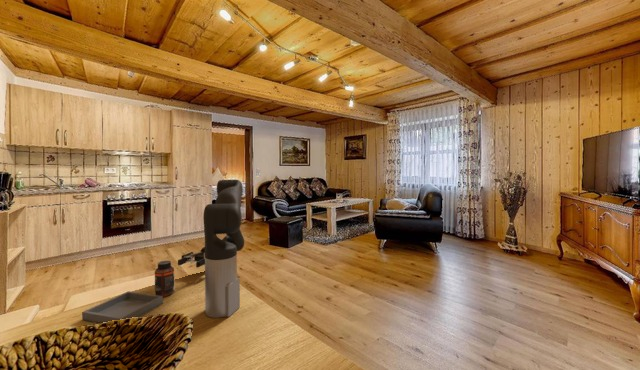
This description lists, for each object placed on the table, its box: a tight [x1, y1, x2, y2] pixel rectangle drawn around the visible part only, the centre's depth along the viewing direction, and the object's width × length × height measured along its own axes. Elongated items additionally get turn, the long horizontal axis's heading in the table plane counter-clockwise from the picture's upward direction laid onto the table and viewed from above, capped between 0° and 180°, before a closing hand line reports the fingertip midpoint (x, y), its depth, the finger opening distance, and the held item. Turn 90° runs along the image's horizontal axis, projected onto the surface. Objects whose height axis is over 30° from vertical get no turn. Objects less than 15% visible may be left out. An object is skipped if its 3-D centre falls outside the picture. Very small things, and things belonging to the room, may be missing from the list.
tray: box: [81, 291, 164, 324], centre depth 80 cm, size 14×14×2 cm
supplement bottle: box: [154, 260, 175, 298], centre depth 92 cm, size 6×6×11 cm
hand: (187, 263), depth 103 cm, fingers open, 8 cm apart
